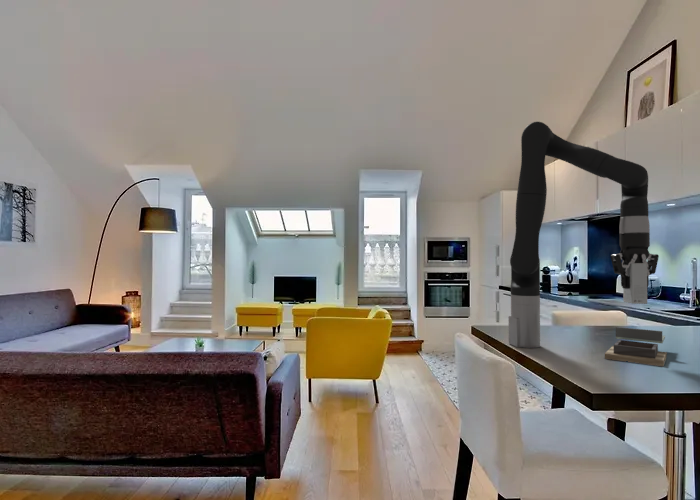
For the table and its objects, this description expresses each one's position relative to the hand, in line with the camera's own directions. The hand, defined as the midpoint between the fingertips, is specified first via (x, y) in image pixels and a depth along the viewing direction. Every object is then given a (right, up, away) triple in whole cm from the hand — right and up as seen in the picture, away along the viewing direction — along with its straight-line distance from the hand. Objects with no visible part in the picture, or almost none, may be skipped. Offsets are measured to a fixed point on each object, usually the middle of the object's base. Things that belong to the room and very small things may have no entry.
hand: (634, 288), depth 126 cm
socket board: (0, -21, 0) cm, 21 cm away
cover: (+8, -17, +9) cm, 21 cm away
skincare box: (0, -5, 0) cm, 5 cm away
